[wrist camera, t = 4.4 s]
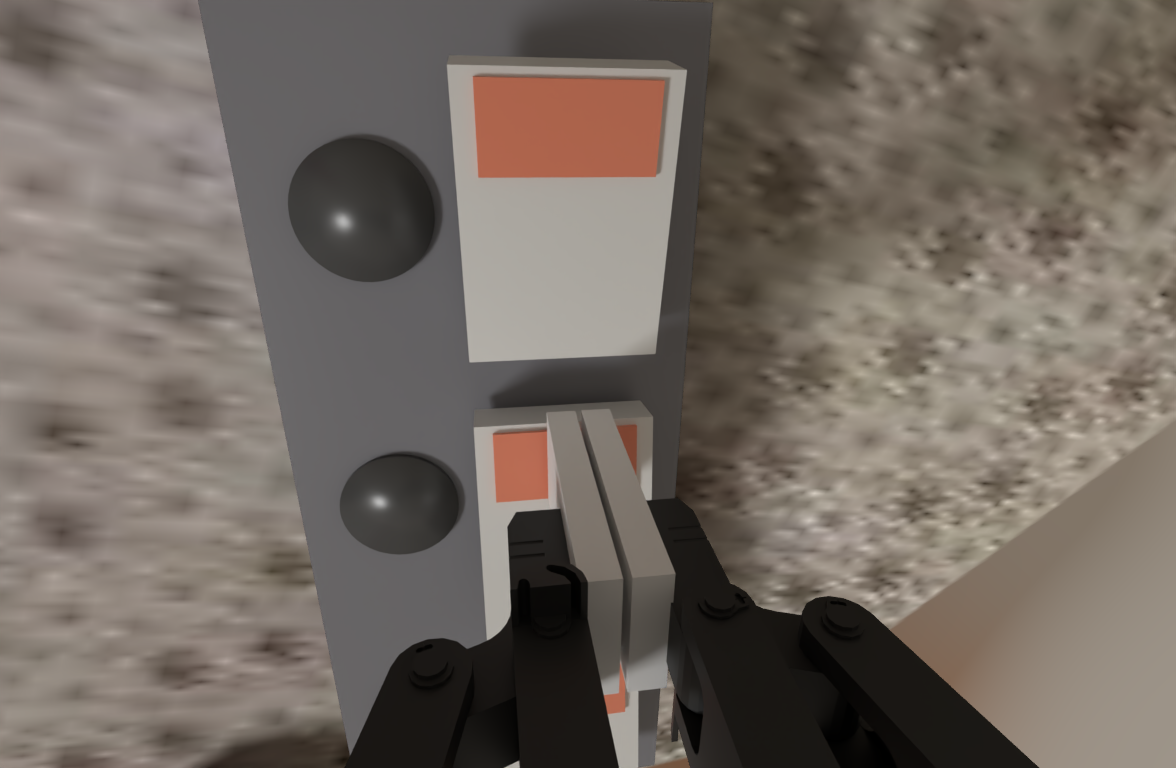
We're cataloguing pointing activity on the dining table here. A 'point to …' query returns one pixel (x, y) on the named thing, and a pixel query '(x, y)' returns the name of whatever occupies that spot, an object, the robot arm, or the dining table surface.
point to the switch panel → (414, 291)
